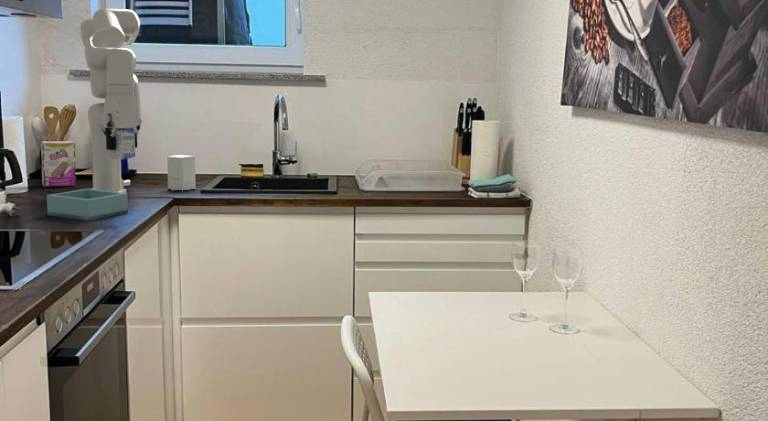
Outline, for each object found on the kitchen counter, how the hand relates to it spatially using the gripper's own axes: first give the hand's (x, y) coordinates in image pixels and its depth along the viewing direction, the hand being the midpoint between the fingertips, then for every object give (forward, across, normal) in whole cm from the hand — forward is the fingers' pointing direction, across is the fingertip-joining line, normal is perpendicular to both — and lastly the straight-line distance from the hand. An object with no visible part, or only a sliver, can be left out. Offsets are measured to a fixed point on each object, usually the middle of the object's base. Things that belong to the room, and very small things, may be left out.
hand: (122, 148), depth 228 cm
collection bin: (+20, +7, -7) cm, 22 cm away
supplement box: (+20, -48, -15) cm, 55 cm away
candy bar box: (+21, -31, -56) cm, 67 cm away
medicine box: (+3, 0, 0) cm, 3 cm away
